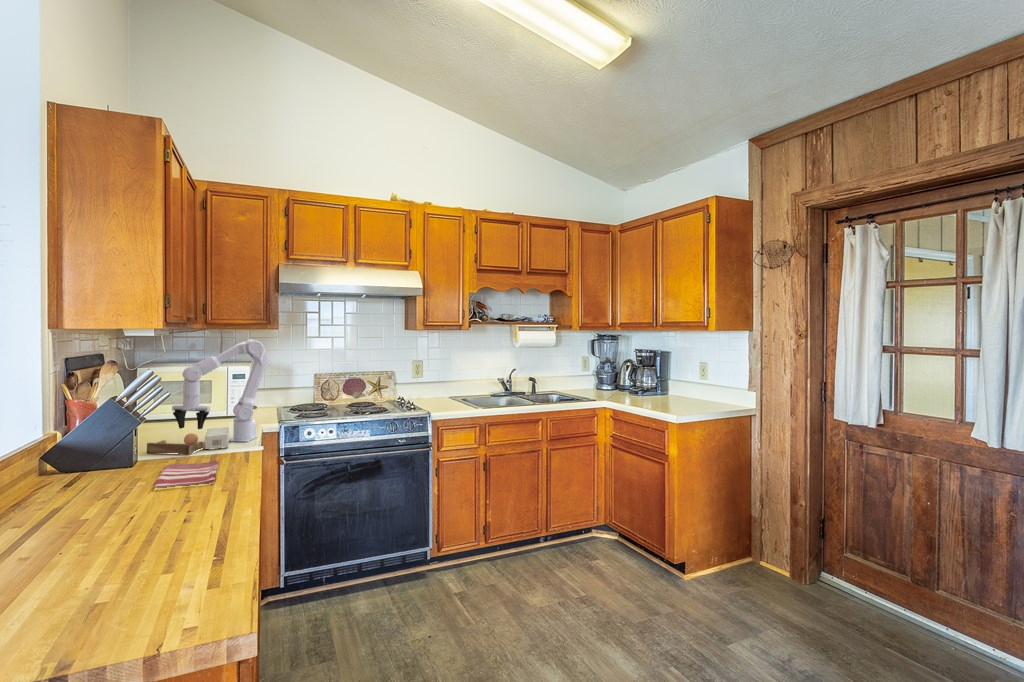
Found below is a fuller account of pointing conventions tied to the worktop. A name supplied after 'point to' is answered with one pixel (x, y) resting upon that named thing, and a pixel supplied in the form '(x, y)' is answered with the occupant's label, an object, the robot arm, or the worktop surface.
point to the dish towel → (187, 474)
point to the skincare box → (217, 438)
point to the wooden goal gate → (173, 447)
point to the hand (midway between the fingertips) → (190, 428)
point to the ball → (191, 439)
